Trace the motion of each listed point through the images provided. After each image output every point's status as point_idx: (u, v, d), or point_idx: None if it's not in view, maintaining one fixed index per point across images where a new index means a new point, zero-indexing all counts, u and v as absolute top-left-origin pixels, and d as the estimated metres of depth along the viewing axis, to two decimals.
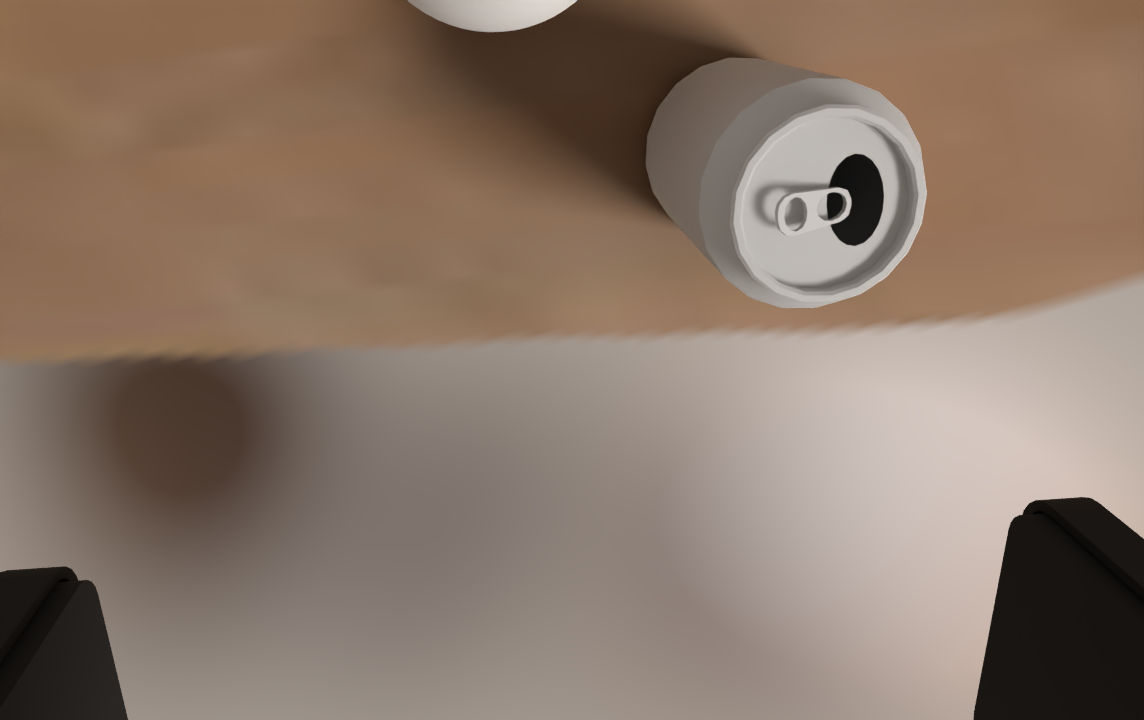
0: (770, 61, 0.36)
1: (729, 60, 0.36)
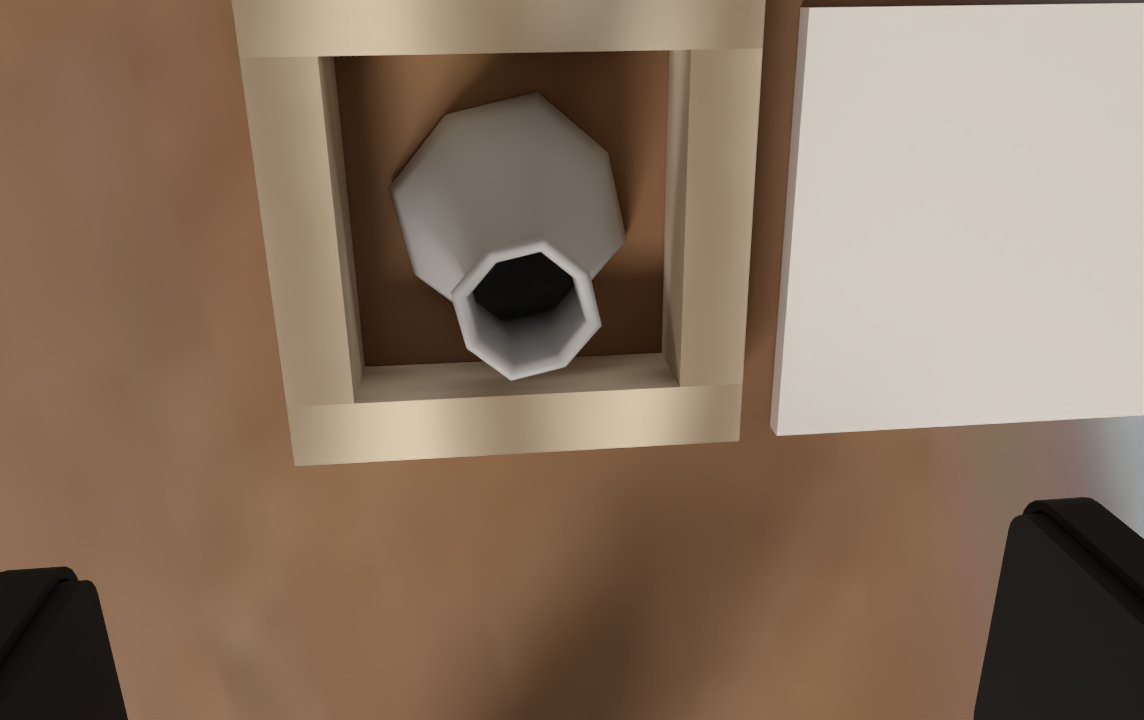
0: None
1: None
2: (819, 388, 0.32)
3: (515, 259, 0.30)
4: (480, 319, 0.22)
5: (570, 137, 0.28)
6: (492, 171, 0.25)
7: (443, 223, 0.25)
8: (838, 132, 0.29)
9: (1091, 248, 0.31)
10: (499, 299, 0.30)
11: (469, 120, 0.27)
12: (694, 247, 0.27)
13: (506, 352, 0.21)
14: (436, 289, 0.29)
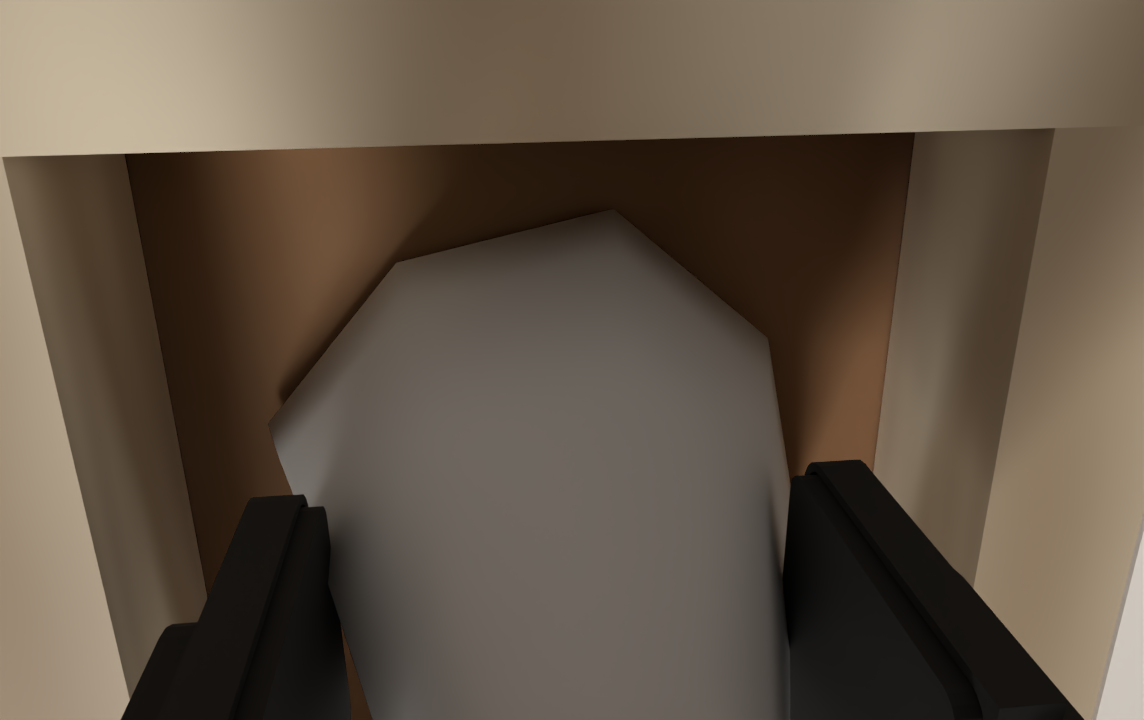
0: None
1: None
2: None
3: None
4: None
5: (696, 324, 0.11)
6: (514, 480, 0.09)
7: (374, 626, 0.09)
8: None
9: None
10: None
11: (452, 285, 0.11)
12: (996, 591, 0.11)
13: None
14: None
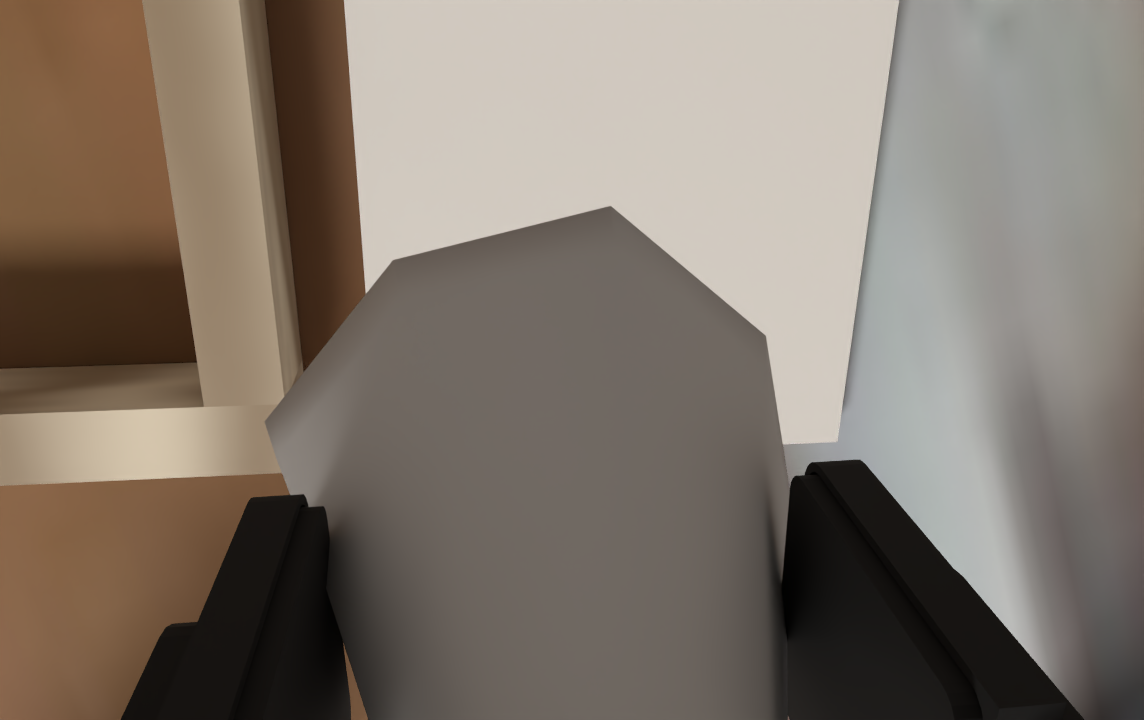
0: None
1: None
2: None
3: None
4: None
5: (693, 321, 0.11)
6: (510, 478, 0.09)
7: (371, 624, 0.09)
8: (400, 96, 0.23)
9: (740, 246, 0.26)
10: None
11: (449, 282, 0.11)
12: (191, 236, 0.22)
13: None
14: None
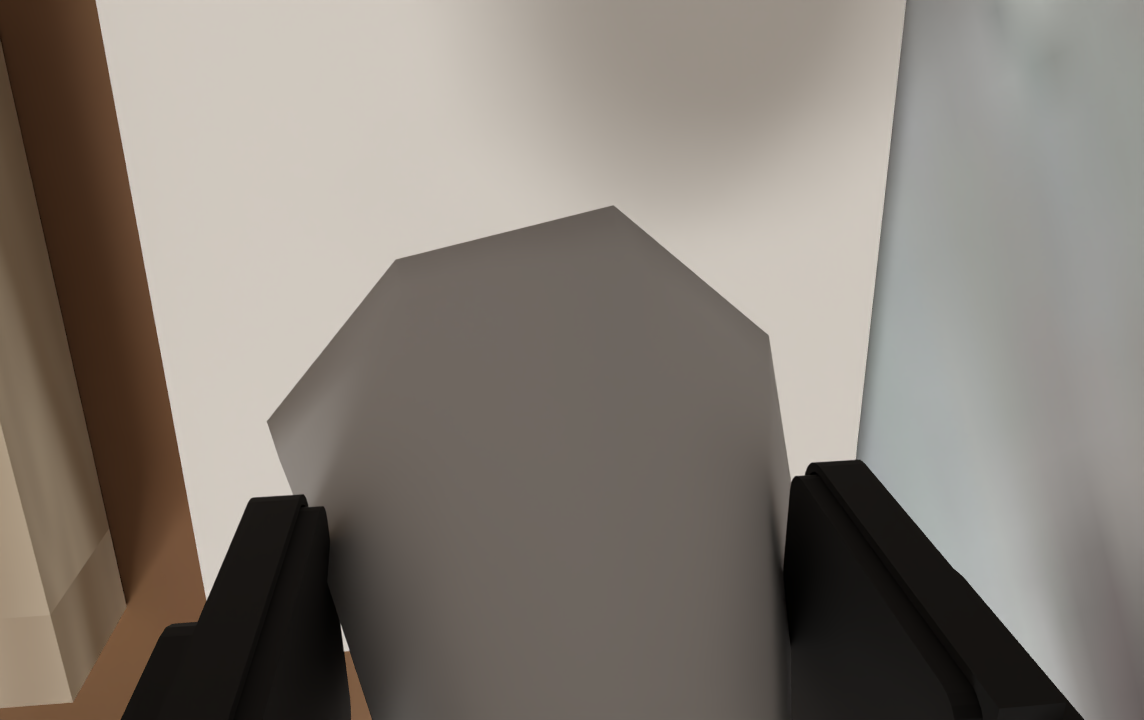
0: None
1: None
2: None
3: None
4: None
5: (697, 320, 0.11)
6: (515, 478, 0.09)
7: (373, 625, 0.09)
8: (200, 184, 0.17)
9: None
10: None
11: (452, 282, 0.11)
12: None
13: None
14: None
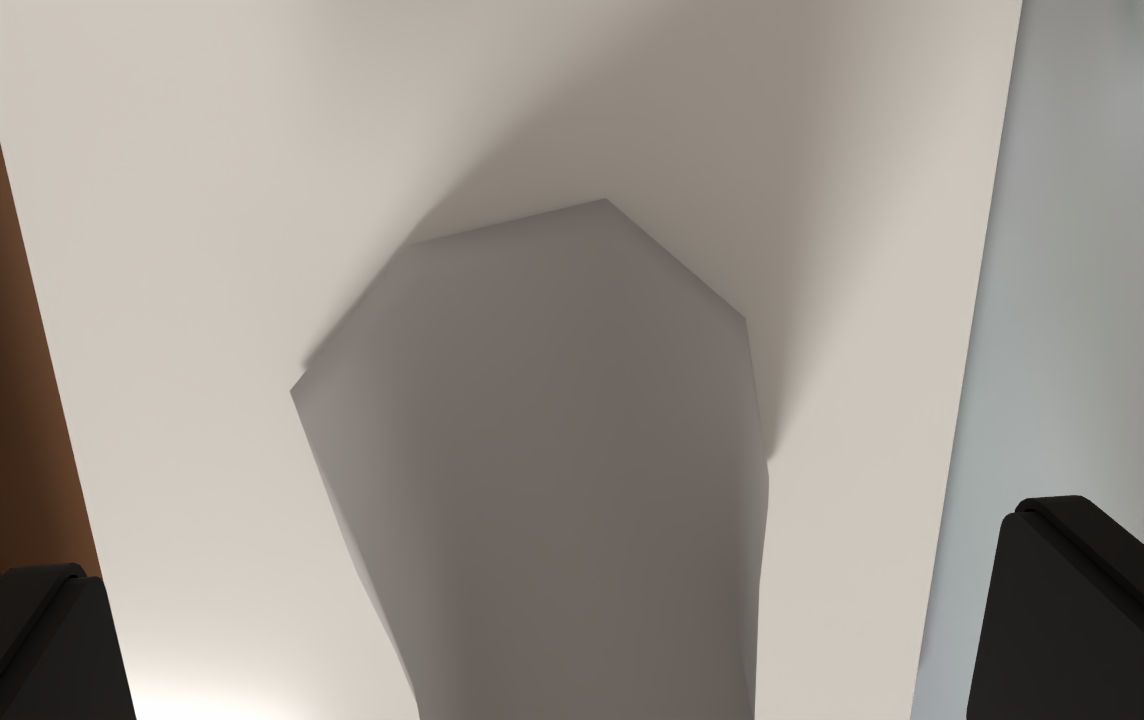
0: None
1: None
2: (219, 715, 0.16)
3: None
4: None
5: (679, 302, 0.13)
6: (517, 431, 0.10)
7: (392, 558, 0.10)
8: (113, 225, 0.13)
9: None
10: None
11: (460, 265, 0.12)
12: None
13: None
14: None
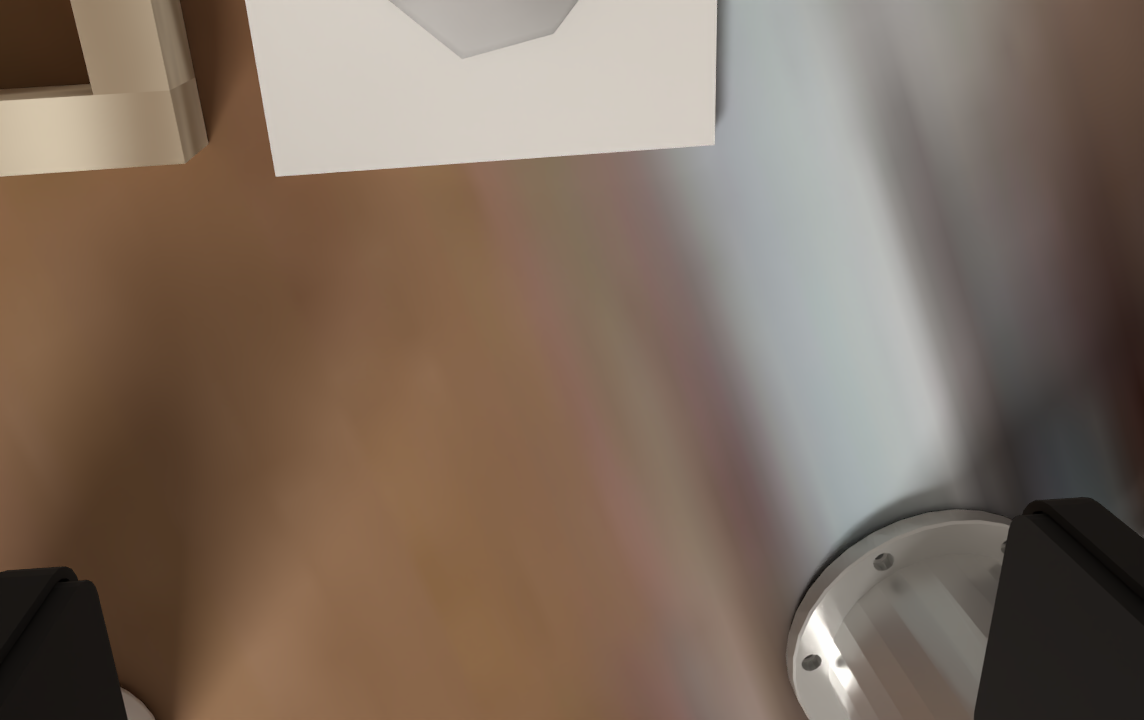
0: None
1: None
2: (312, 116, 0.28)
3: None
4: None
5: None
6: None
7: None
8: None
9: None
10: None
11: None
12: None
13: None
14: (406, 5, 0.27)
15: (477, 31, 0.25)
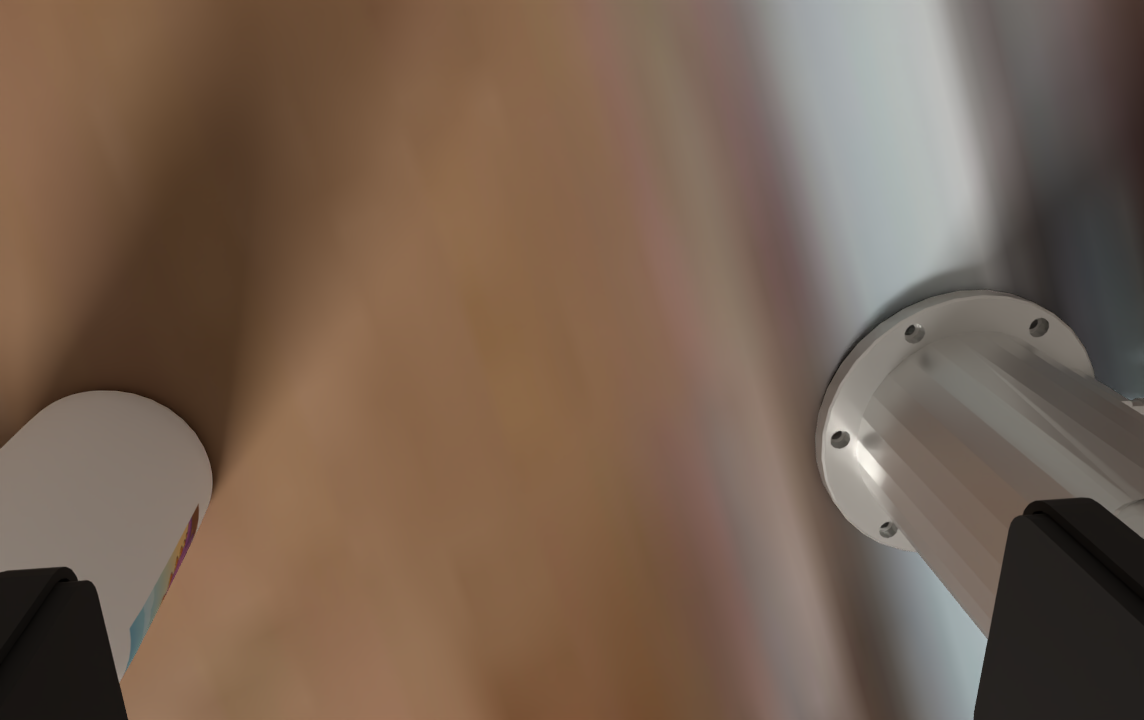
0: None
1: None
2: None
3: None
4: None
5: None
6: None
7: None
8: None
9: None
10: None
11: None
12: None
13: None
14: None
15: None
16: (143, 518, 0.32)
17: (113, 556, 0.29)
